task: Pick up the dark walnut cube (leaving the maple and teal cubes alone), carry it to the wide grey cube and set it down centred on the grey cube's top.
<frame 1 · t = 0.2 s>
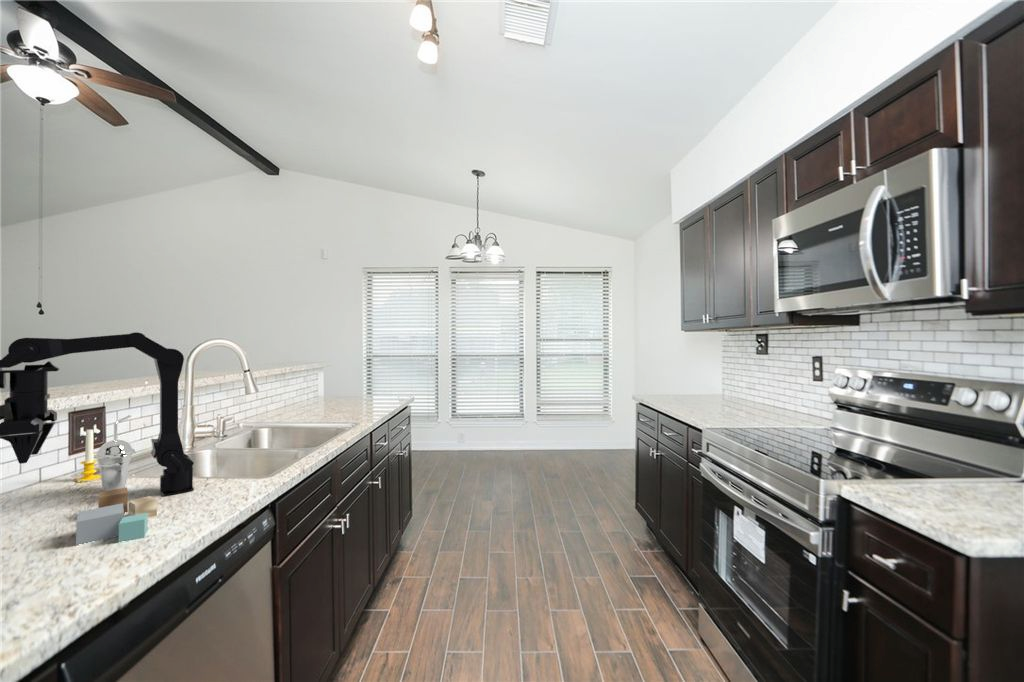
hand: (28, 458, 95), 14 cm above the counter, tool pointing down, fingers open, 9 cm apart
teal cube: (133, 536, 87), on the counter
maple cube: (142, 517, 97), on the counter
grey cube: (100, 535, 88), on the counter
candle: (88, 480, 123), on the counter
cup with straw: (115, 489, 115), on the counter
walnut cube: (113, 512, 100), on the counter
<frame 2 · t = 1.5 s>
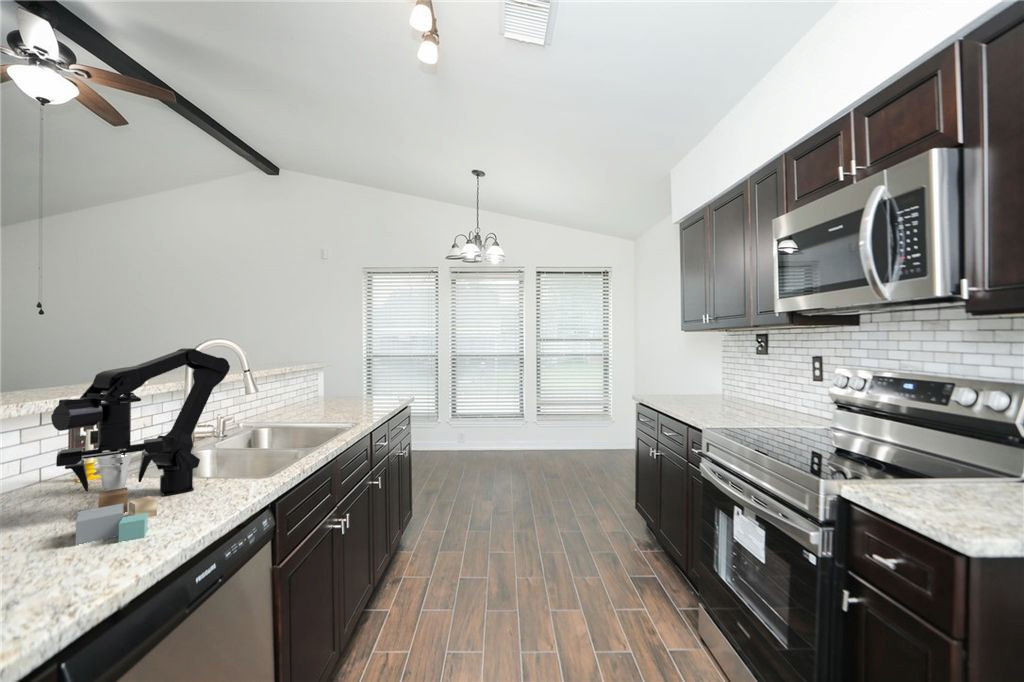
hand: (114, 486, 100), 6 cm above the counter, tool pointing down, fingers open, 9 cm apart
nothing on the counter moved.
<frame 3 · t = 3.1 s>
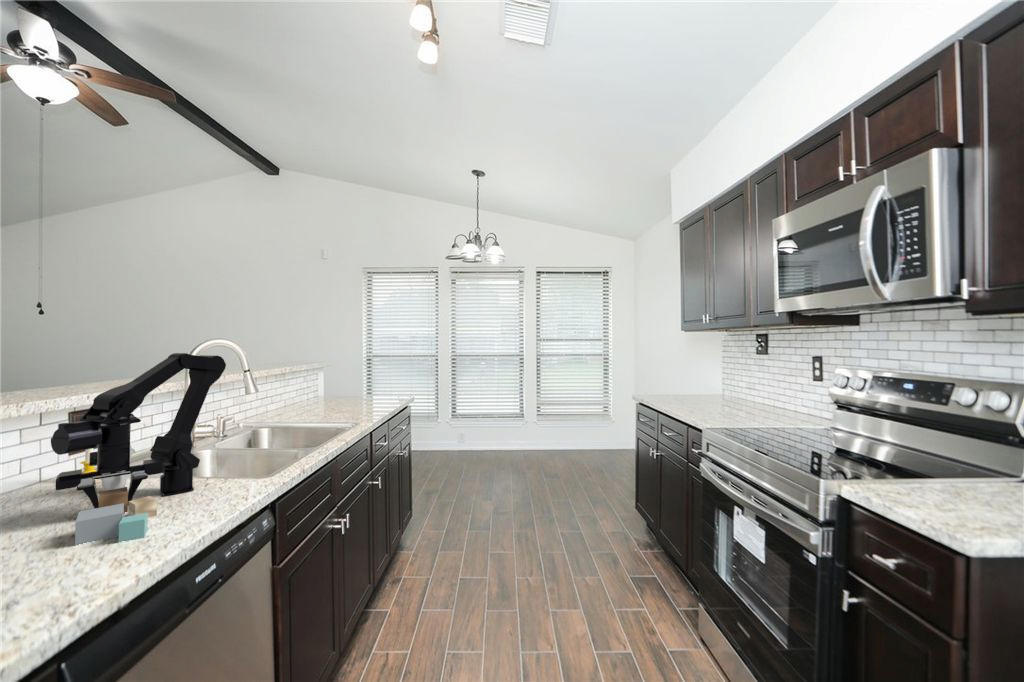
hand: (113, 508, 100), 1 cm above the counter, tool pointing down, fingers closed on walnut cube, 5 cm apart
walnut cube: (113, 512, 100), on the counter, touching gripper
everything else where it was.
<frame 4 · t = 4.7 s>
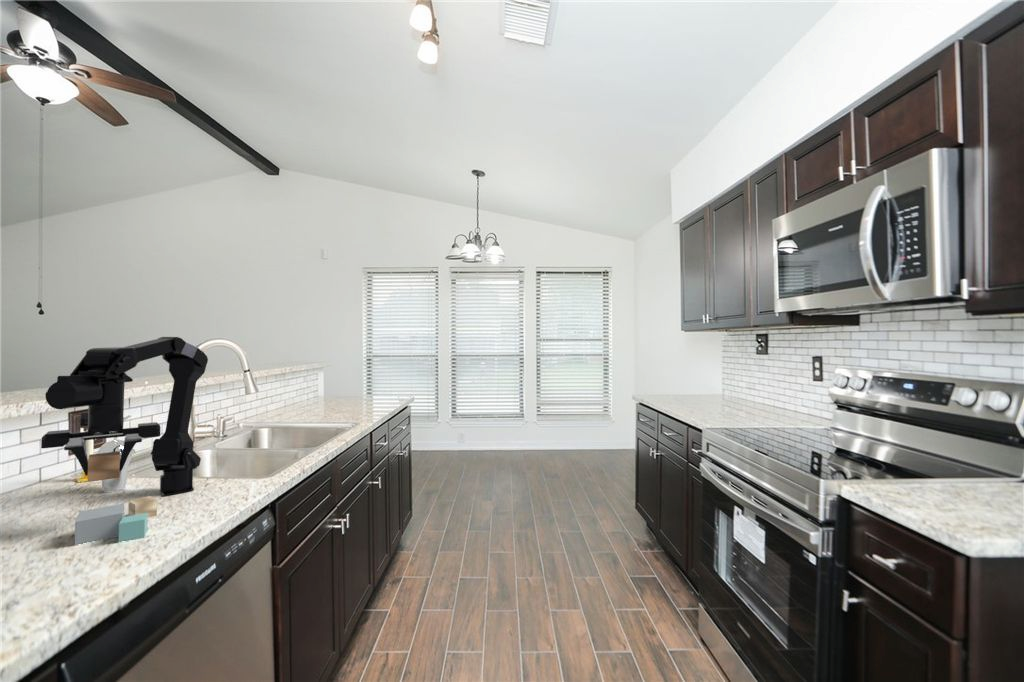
hand: (104, 472, 92), 12 cm above the counter, tool pointing down, fingers closed on walnut cube, 5 cm apart
walnut cube: (104, 477, 92), point 11 cm above the counter, touching gripper
everything else where it was.
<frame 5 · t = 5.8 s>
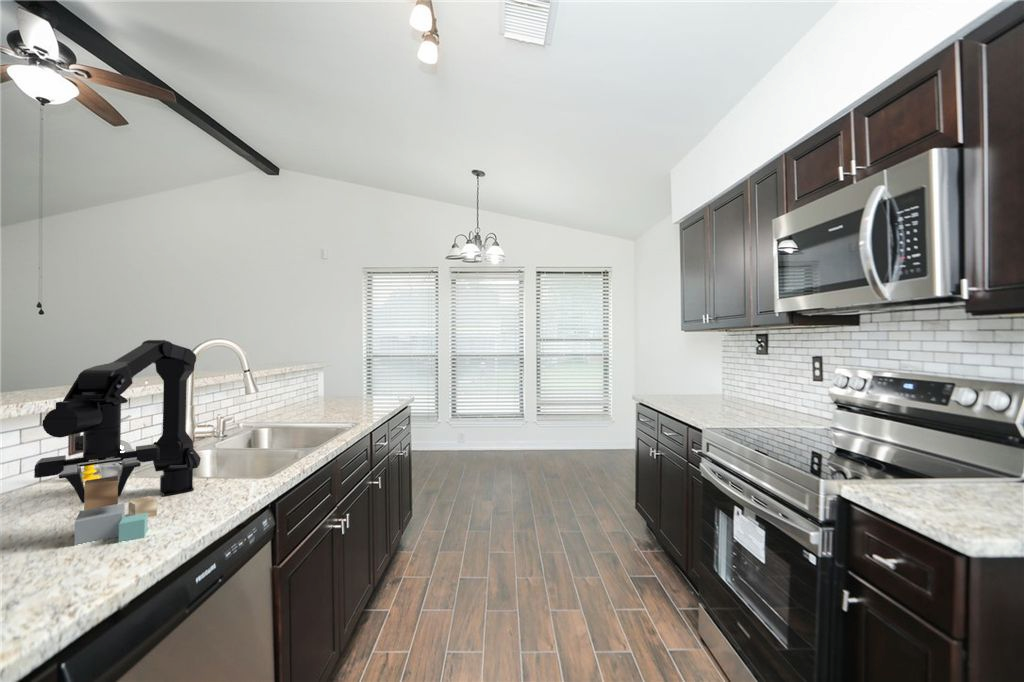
hand: (101, 499, 88), 8 cm above the counter, tool pointing down, fingers closed on walnut cube, 5 cm apart
walnut cube: (101, 503, 88), point 7 cm above the counter, touching gripper
everything else where it was.
when the fingers open (7 cm above the counter, at t = 6.6 s): walnut cube drops 1 cm, resting on grey cube.
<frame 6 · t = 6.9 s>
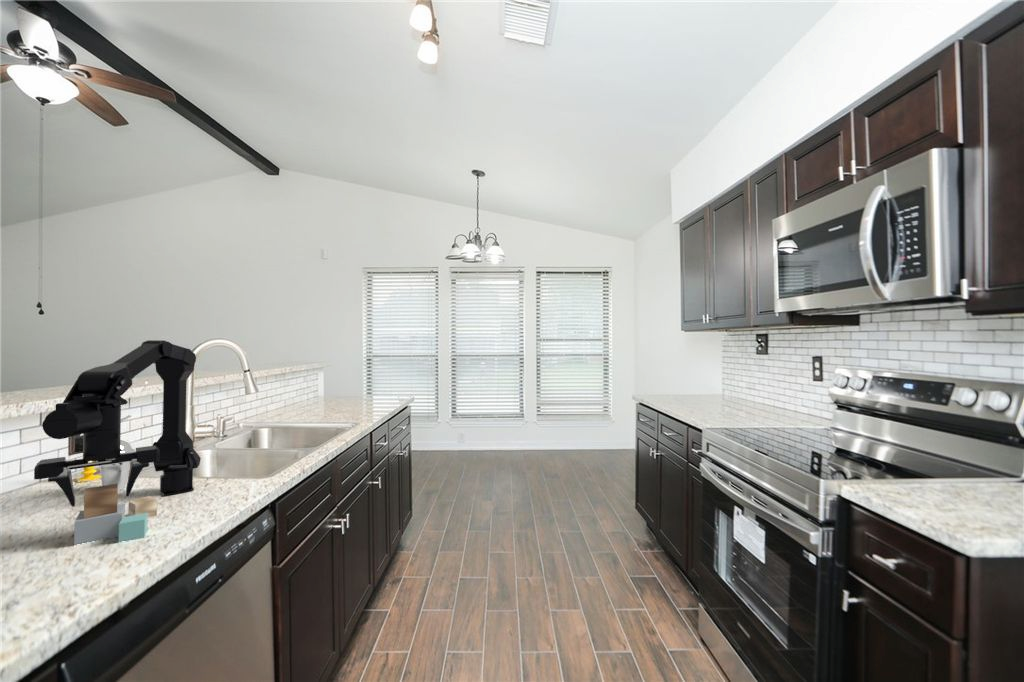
hand: (101, 500, 88), 7 cm above the counter, tool pointing down, fingers open, 8 cm apart
grey cube: (100, 535, 88), on the counter, touching walnut cube
walnut cube: (101, 512, 88), point 5 cm above the counter, touching grey cube
everything else where it was.
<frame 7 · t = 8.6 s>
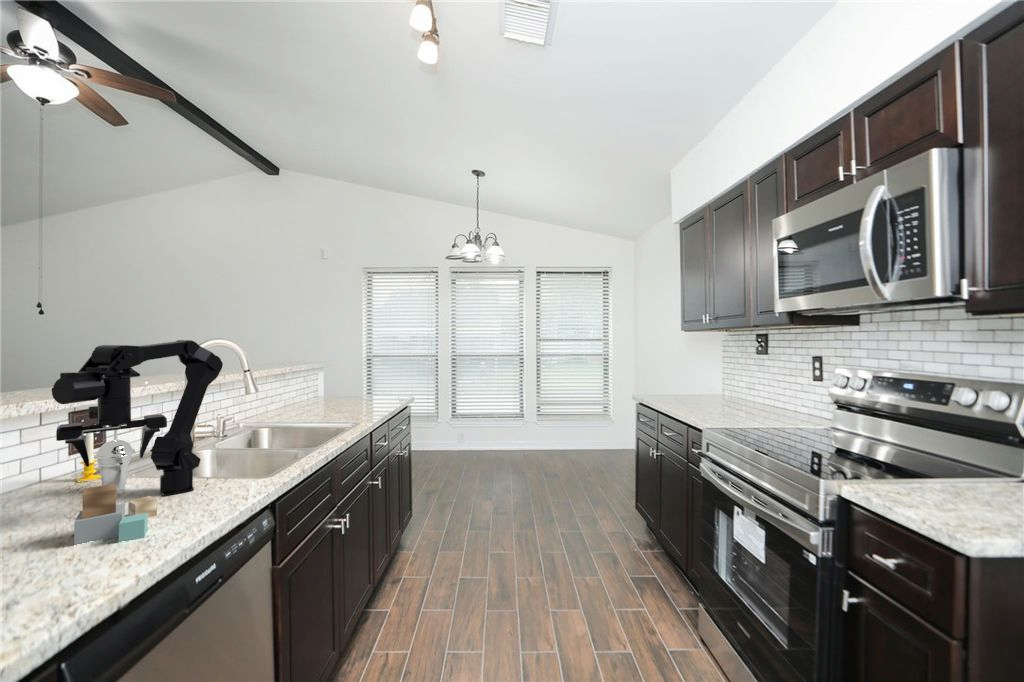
hand: (115, 461, 98), 13 cm above the counter, tool pointing down, fingers open, 9 cm apart
nothing on the counter moved.
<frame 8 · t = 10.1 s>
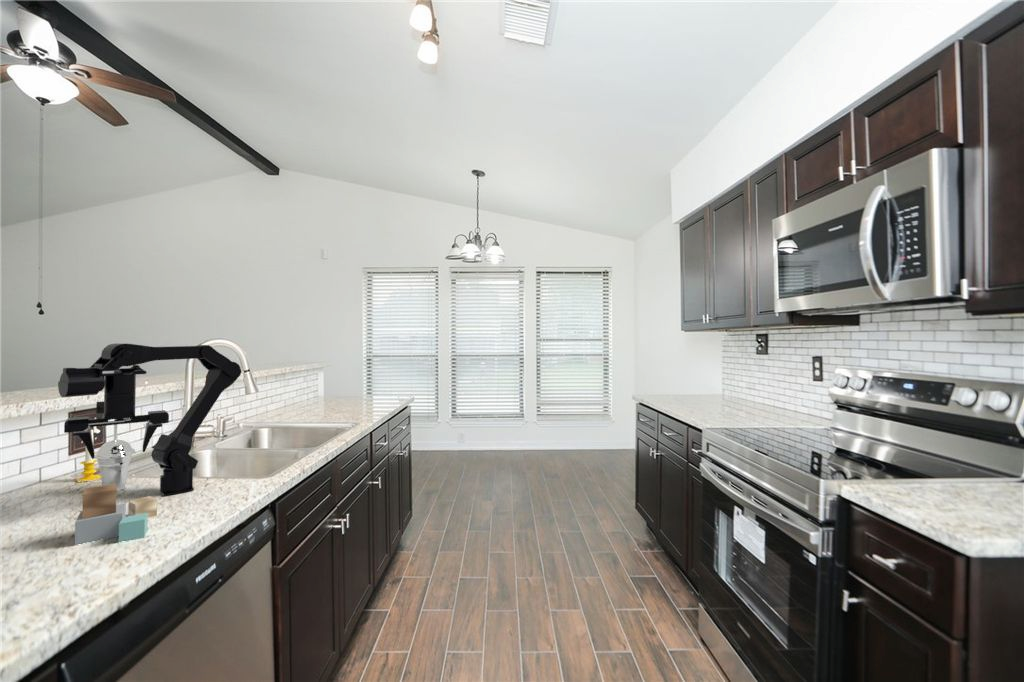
hand: (119, 454, 103), 13 cm above the counter, tool pointing down, fingers open, 9 cm apart
grey cube: (101, 535, 88), on the counter
walnut cube: (99, 512, 88), point 5 cm above the counter
everything else where it was.
at the end: walnut cube 0.3 cm off-centre on the grey cube, point 5.0 cm above the grey cube's base; walnut cube tilted 0°; the gripper is holding nothing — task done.
